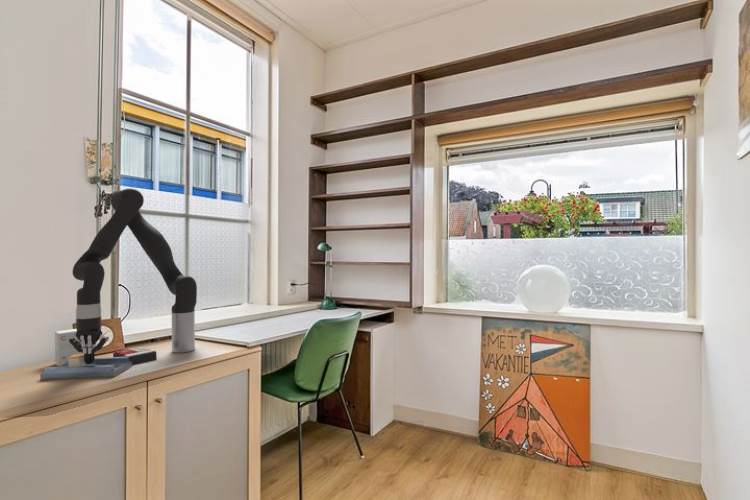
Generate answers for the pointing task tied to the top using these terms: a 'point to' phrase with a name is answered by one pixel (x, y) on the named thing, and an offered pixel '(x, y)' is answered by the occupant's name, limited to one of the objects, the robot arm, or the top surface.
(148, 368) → the top surface
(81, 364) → the breaker toggle
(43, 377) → the panel
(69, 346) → the small box
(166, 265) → the robot arm
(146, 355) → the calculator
